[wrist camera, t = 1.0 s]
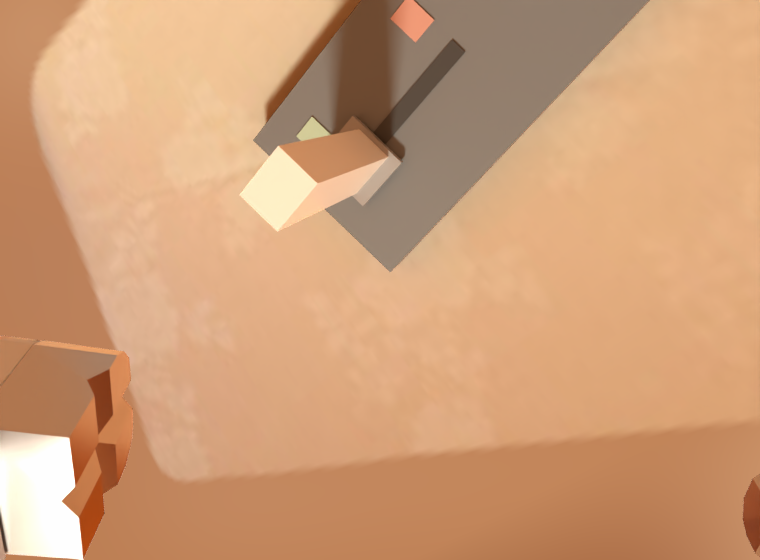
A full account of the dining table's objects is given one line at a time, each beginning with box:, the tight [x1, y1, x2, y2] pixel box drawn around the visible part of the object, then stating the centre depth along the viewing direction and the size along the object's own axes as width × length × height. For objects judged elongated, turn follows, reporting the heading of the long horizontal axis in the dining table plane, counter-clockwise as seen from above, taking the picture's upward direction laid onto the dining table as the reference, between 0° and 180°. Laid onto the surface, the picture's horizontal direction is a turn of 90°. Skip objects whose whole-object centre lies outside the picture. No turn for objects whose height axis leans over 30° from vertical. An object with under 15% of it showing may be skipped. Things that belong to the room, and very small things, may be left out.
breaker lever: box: [240, 116, 403, 232], centre depth 38 cm, size 4×4×12 cm
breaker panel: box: [253, 0, 650, 272], centre depth 41 cm, size 29×12×2 cm, turn 139°
